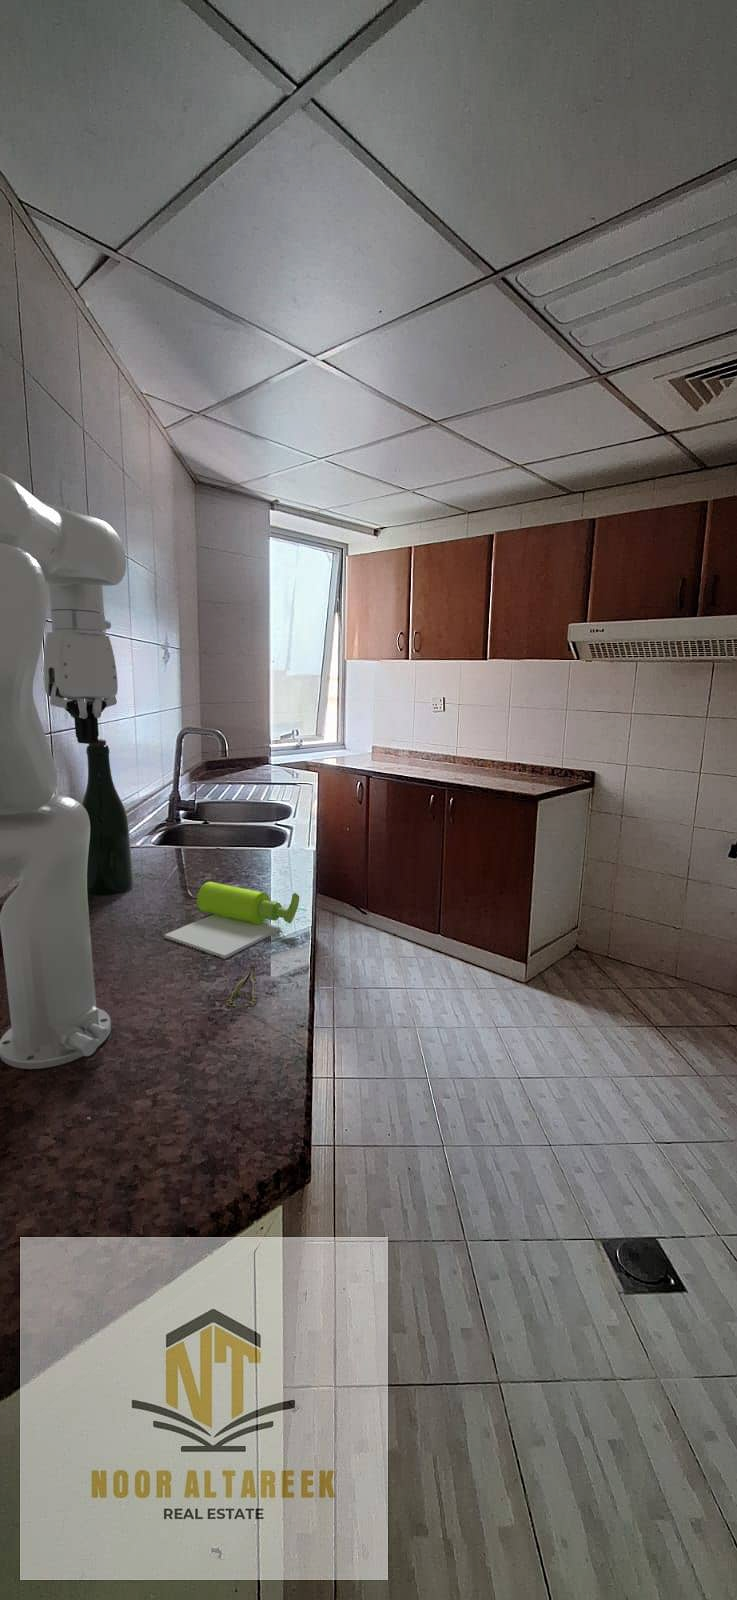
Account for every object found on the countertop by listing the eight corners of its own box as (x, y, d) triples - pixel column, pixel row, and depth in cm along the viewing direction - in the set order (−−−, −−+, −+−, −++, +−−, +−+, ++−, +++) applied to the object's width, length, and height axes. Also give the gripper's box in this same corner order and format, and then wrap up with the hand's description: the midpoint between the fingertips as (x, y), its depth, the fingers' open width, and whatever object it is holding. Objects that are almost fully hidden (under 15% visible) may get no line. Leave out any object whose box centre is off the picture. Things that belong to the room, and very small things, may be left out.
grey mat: (280, 930, 110) (280, 927, 110) (224, 958, 98) (224, 955, 98) (222, 913, 118) (222, 910, 118) (164, 937, 106) (164, 934, 106)
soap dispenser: (223, 883, 121) (306, 900, 112) (209, 915, 118) (293, 935, 109) (207, 872, 116) (292, 888, 107) (192, 905, 113) (278, 924, 104)
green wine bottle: (136, 880, 137) (127, 736, 131) (130, 895, 127) (120, 741, 121) (86, 883, 134) (75, 737, 128) (77, 899, 124) (63, 742, 118)
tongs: (261, 968, 97) (260, 957, 96) (255, 1014, 84) (255, 1002, 84) (234, 970, 96) (234, 959, 96) (225, 1016, 84) (224, 1004, 83)
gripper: (107, 630, 101) (114, 738, 104) (16, 621, 88) (28, 745, 92) (135, 628, 97) (142, 741, 100) (45, 619, 84) (56, 748, 88)
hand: (87, 742), depth 96 cm, fingers closed
